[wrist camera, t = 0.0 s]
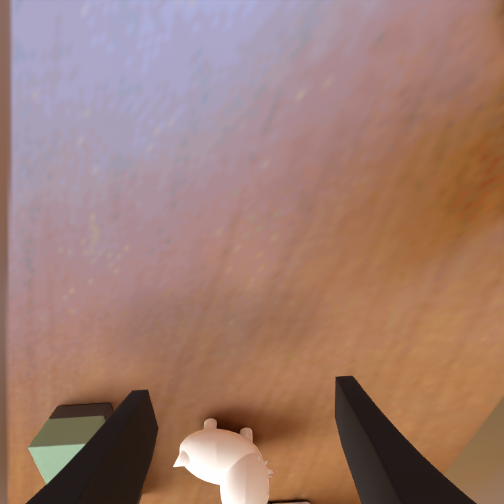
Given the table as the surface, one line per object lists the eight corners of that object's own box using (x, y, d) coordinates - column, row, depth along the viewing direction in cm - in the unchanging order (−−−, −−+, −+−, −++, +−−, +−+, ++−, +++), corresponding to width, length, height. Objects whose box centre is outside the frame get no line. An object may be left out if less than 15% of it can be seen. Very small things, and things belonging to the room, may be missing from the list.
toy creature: (261, 461, 28) (264, 549, 22) (176, 440, 27) (155, 527, 21) (280, 427, 26) (289, 512, 20) (190, 403, 25) (172, 486, 19)
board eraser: (141, 495, 29) (127, 541, 26) (96, 497, 29) (76, 544, 26) (110, 402, 25) (88, 443, 22) (57, 405, 25) (27, 447, 22)
